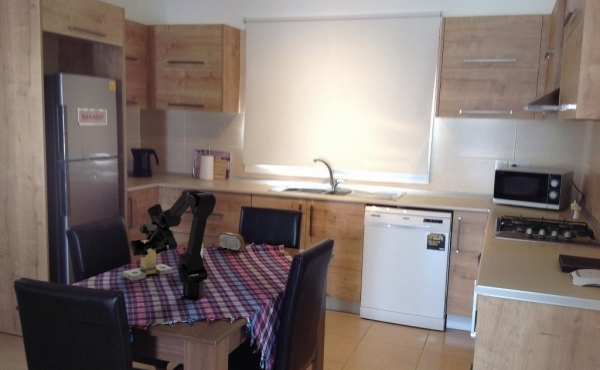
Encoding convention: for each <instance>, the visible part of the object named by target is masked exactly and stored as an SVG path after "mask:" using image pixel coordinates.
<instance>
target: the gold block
mask: <svg viewBox="0 0 600 370" xmlns="http://www.w3.org/2000/svg"><path fill="white" fill-rule="evenodd" d="M141 241H142V242H144V243H145V242H146V241H148V240H146V239H144V240H141ZM147 252H148V255H146V256H145V257H143V258H141V257H140V267H139V268H140V269H141V271H142V272H144V273H146V276H147V275H152V274H156V265H157V255H156V249H154V250H152V249H148V251H147Z"/></svg>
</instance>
